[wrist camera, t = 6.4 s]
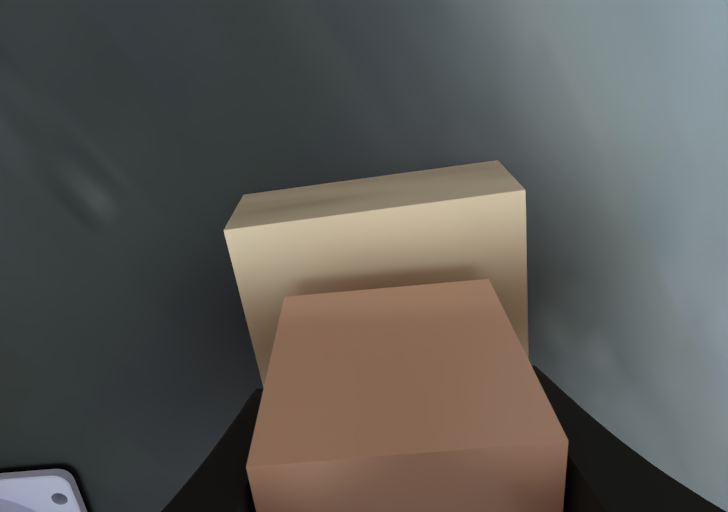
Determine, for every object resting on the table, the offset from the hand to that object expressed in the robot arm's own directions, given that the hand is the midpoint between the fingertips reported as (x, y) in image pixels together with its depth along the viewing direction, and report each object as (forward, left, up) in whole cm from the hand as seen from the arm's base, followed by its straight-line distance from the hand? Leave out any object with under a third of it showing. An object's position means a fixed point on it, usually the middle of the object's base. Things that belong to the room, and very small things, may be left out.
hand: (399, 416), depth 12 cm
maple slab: (0, 0, -6) cm, 6 cm away
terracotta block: (0, 0, -2) cm, 2 cm away
